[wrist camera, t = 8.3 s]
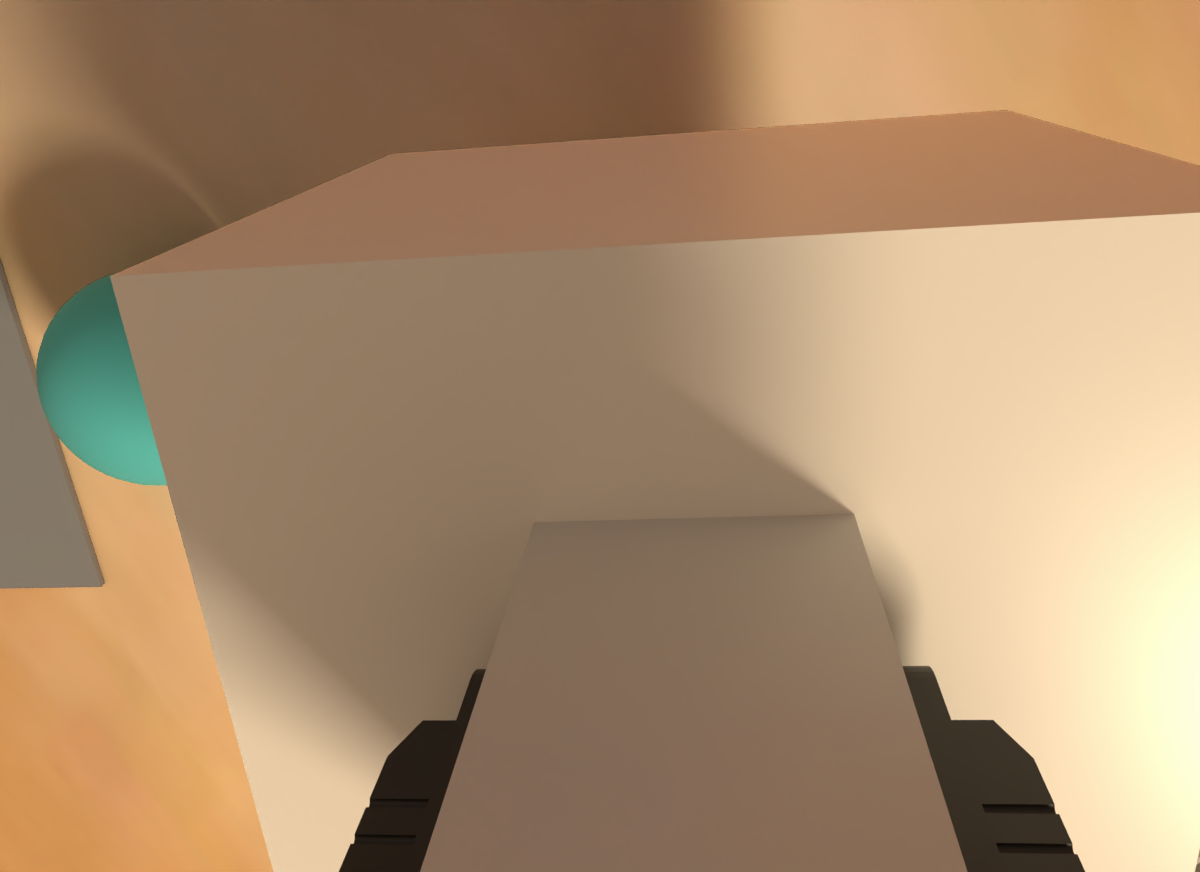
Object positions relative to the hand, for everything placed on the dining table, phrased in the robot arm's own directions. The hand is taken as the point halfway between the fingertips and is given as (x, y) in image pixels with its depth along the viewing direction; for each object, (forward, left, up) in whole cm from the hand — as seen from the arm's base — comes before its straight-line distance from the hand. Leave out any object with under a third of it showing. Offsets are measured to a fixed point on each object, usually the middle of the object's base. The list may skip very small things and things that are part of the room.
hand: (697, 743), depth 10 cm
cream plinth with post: (0, 0, -9) cm, 9 cm away
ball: (0, -12, -12) cm, 17 cm away
